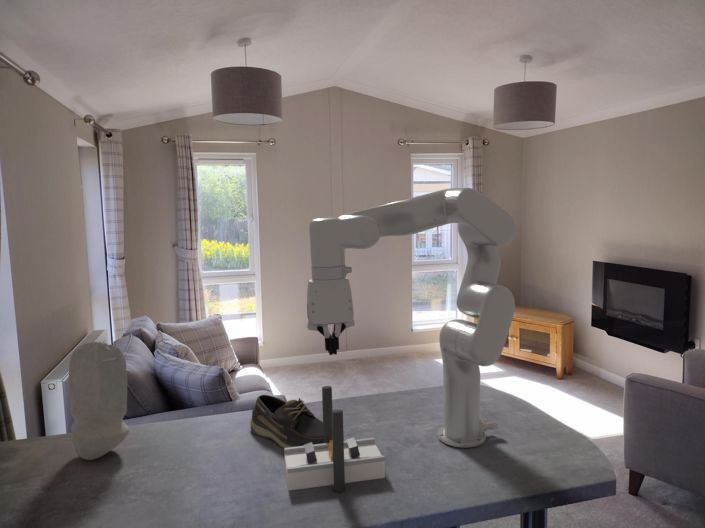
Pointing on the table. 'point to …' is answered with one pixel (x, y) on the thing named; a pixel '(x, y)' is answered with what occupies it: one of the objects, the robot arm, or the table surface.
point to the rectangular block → (331, 448)
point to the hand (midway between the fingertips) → (332, 353)
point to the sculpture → (97, 398)
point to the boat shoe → (286, 422)
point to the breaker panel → (322, 469)
